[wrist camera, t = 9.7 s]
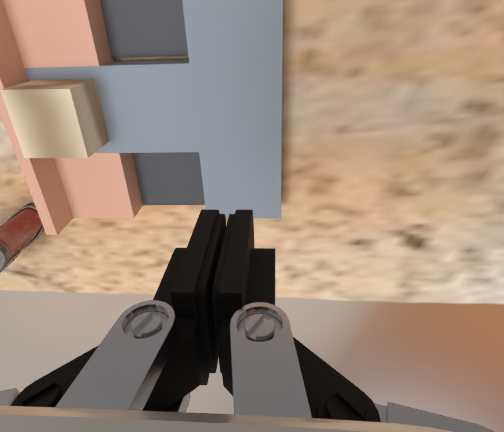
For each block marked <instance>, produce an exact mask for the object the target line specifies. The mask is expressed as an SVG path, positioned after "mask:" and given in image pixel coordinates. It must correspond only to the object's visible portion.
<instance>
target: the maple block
mask: <svg viewBox="0 0 504 432" xmlns="http://www.w3.org/2000/svg"><path fill="white" fill-rule="evenodd" d="M0 91H1V94H2V97H3V100H4V103H5V105H6V108H7V111H8V114H9V116H10V119H11V122H12V125H13V128H14V130H15V133H16V136H17V139H18V141H19V144H20V147H21V150H22V153H23V155H24V158H89V157H90V156H91V155H93V154H94V153H95V152H96V151H98V150H99V149H100V148H101V147H103V146H104V145H105V144H107V143H108V142H109V137H108V133H107V128H106V124H105V119H104V115H103V111H102V106H101V102H100V98H99V93H98V89H97V84H96V80H95V79H60V80H31V81H28V82H25V83H21V84H18V85H14V86H11V87H8V88H4V89H1V90H0Z"/></svg>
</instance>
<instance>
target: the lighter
mask: <svg viewBox="0 0 504 432" xmlns="http://www.w3.org/2000/svg"><path fill="white" fill-rule="evenodd" d="M43 230H44V227H43V225H42V222H41V219H40V217H39V214H38V211H37V209H36V206H35V204H34V203H29V204H27V205H26V206H24V207H22V208H21V209H19V210H18V211H17V212H15V213H14V214H13V215H12V216H11V217H10V218H8V219H7V220H6V221H5V222H4V224H3V225H2V226H1V227H0V272H1V271H3V270H4V269H5V268H6V267H7V266H8V265H9V264H10V263H11V262H12V261H14V259H15V258H16V257H17V256H18V255H19V253H20V252H21V250H23V249H25V248H26V247H27V246H28V245H30V244H31V243H32V242H33V241H34V240H36V239H37V238H38V236H39V235H40V234H41V233H42V232H43Z"/></svg>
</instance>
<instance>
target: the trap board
mask: <svg viewBox="0 0 504 432" xmlns="http://www.w3.org/2000/svg"><path fill="white" fill-rule="evenodd" d="M186 55H188V56H189V59H166V60H132V61H114V58H117V57H151V56H186ZM282 59H283V0H0V90H1V89H4V88H8V87H11V86H14V85H18V84H21V83H25V82H28V81H31V80H60V79H95V80H96V84H97V89H98V93H99V98H100V102H101V106H102V111H103V115H104V119H105V124H106V128H107V133H108V137H109V142H108V143H107V144H105V145H104V146H103V147H101V148H100V149H99V150H98V151H96V152H95V153H94V154H93V155H91V156H90V157H89V158H24V155H23V153H22V150H21V147H20V144H19V141H18V139H17V136H16V133H15V130H14V128H13V125H12V122H11V119H10V116H9V114H8V111H7V108H6V105H5V103H4V100H3V97H2V94H1V91H0V115H1V117H2V120H3V122H4V125H5V128H6V130H7V133H8V136H9V138H10V141H11V143H12V146H13V149H14V151H15V154H16V156H17V159H18V162H19V164H20V167H21V170H22V172H23V175H24V177H25V180H26V183H27V185H28V188H29V191H30V193H31V196H32V198H33V201H34V204H35V206H36V209H37V211H38V214H39V217H40V219H41V222H42V225H43V227H44V230H45V232H46V235H57V234H58V233H59V232H60V231H61V230H62V229H63V228H64V227H65V226H66V225H67V224H68V223H69V222H70V221H71V220H72V219H73V218H134V217H135V216H136V214H137V213H138V211H139V210H140V208H141V207H142V205H205V209H206V210H219V213H220V214H225V217H226V218H229V214H235V211H236V210H253V218H281V164H282Z"/></svg>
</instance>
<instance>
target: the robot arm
mask: <svg viewBox="0 0 504 432" xmlns="http://www.w3.org/2000/svg"><path fill="white" fill-rule="evenodd" d="M218 357H219V364H220V372H221V373H222V376H223V385H224V387H225V388H226V389H227V390H228V391H229V392H230V393H231V395H232V396H233V399H234V415H231V414H209V413H186V410H187V407H188V405H189V401H190V392H191V391H193V390H194V389H195V388H197V387H198V386H199V385H207V383H208V378H209V373H216V369H217V363H218ZM0 432H494V431H492V430H491V429H488V428H486V427H483V426H481V425H478V424H475V423H471V422H467V421H463V420H459V419H455V418H451V417H447V416H443V415H439V414H435V413H431V412H427V411H423V410H419V409H415V408H411V407H407V406H403V405H399V404H395V403H391V402H388V404H387V406H384V405H380V404H376V403H373V401H372V400H371V399H370V398H369V397H368V396H367V395H366V394H365V393H364V392H363V391H362V390H360V389H359V388H358V387H356V386H355V385H354V384H353V383H351V382H350V381H349V380H347V379H346V378H345V377H344V376H342V375H341V374H340V373H339V372H337V371H336V370H335V369H333V368H332V367H331V366H330V365H328V364H327V363H326V362H325V361H323V360H322V359H321V358H319V357H318V356H317V355H316V354H314V353H313V352H312V351H310V350H309V349H308V348H307V347H305V346H304V345H303V344H302V343H300V342H299V341H298V340H296V339H295V338H294V337H293V336H292V331H291V328H290V323H289V320H288V317H287V315H286V314H285V313H284V311H283V310H281V309H280V308H279V307H277V306H275V249H264V248H254V225H253V210H236V211H235V214H229V218H228V222H227V226H226V217H225V214H220V213H219V210H201V212H200V215H199V217H198V220H197V222H196V225H195V228H194V230H193V233H192V236H191V238H190V241H189V244H188V246H187V248H176V249H175V250H174V252H173V255H172V257H171V259H170V262H169V264H168V266H167V269H166V271H165V273H164V276H163V278H162V280H161V283H160V285H159V287H158V290H157V292H156V294H155V297H154V299H153V300H150V301H144V302H140V303H138V304H135V305H133V306H131V307H130V308H128V309H127V310H125V311H124V313H123V314H122V315H121V316H120V317H119V318H118V320H117V321H116V322H115V324H114V325H113V327H112V328H111V329H110V331H109V332H108V334H107V335H106V337H105V338H104V339H103V341H102V342H101V344H100V345H99V346H97V347H95V348H93V349H92V350H90V351H88V352H86V353H84V354H83V355H81V356H79V357H77V358H75V359H74V360H72V361H70V362H69V363H67V364H65V365H63V366H61V367H59V368H58V369H56V370H54V371H52V372H51V373H49V374H47V375H45V376H43V377H42V378H40V379H38V380H36V381H35V382H33V383H32V384H30V385H29V386H27V387H26V388H25V389H24V390H23V391H22V392H18V390H17V389H16V388H14V389H8V390H3V391H0Z"/></svg>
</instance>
